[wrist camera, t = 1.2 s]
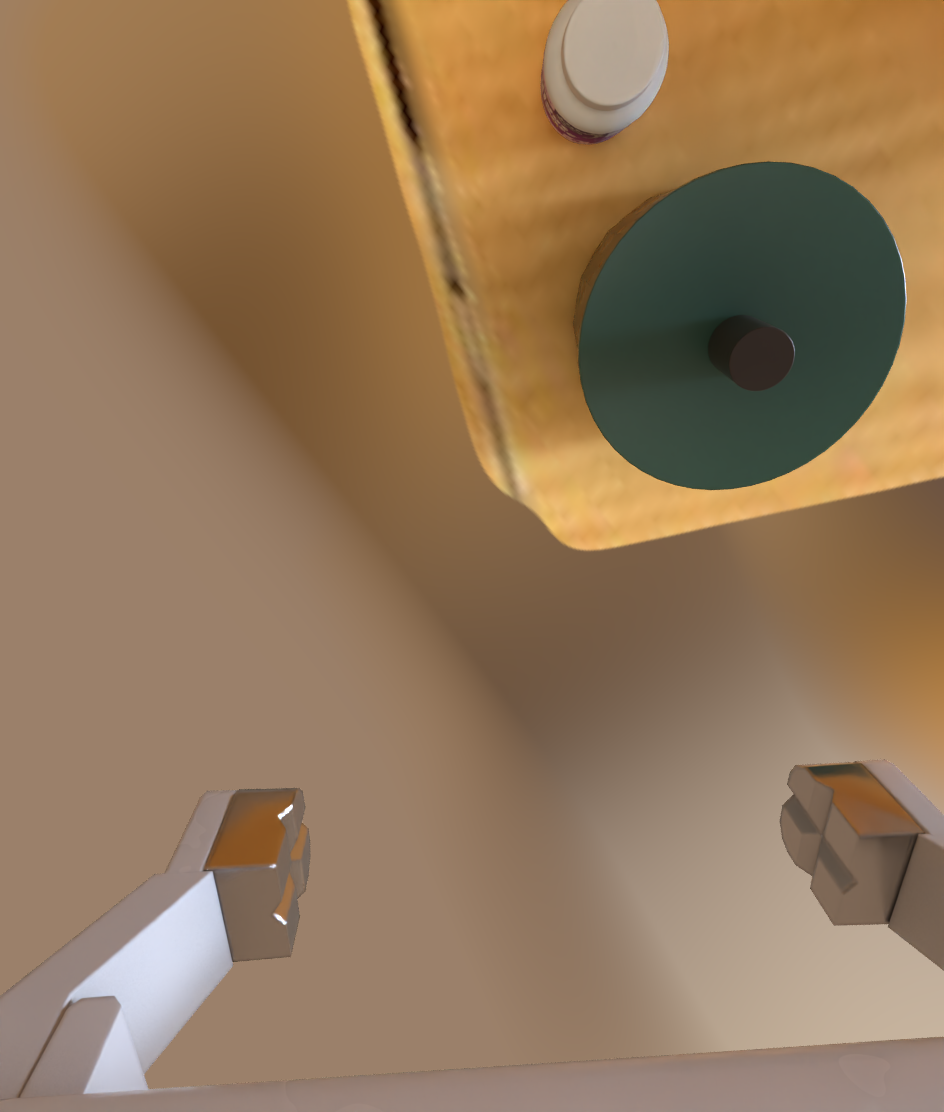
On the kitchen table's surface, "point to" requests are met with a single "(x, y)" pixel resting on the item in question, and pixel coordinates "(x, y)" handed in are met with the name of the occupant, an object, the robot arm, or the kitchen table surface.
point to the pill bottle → (602, 66)
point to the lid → (742, 325)
